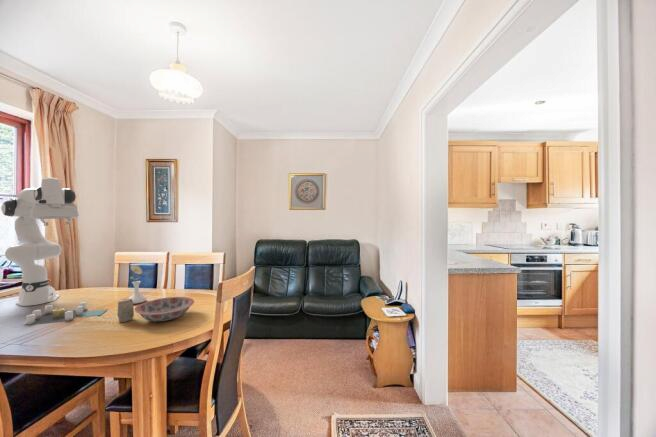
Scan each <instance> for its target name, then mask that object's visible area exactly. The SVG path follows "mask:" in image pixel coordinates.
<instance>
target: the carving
mask: <svg viewBox="0 0 656 437" xmlns="http://www.w3.org/2000/svg"><path fill="white" fill-rule="evenodd" d="M116 313H117V318H118V321H119V322H120V323H126V322H129V321H131V320H133V318H134V316H135V307H134V304H133V301H132V299H130V298H129V297H127V298H120V300H118V302H117V312H116Z"/></svg>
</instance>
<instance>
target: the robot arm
mask: <svg viewBox="0 0 656 437" xmlns="http://www.w3.org/2000/svg"><path fill="white" fill-rule="evenodd" d="M76 198H77V195H76V192H75V191H74V190H72V189H71V188H63V186H62V183H61V180H60V179H59V178H57V177H43V178H41V183H40V186H39V187H37V188H36V187H29V188H24V189H22V190H20V191H19V193H18V195H17V198H13V197H11V198H10V199H9V200H6V201H4V202H3V203H2V205H1V207H0V210H1V212H2V214H3V215H4V216H7V217H11V218H13V217H17V218H15V220H14V231H15V235H16V237H17V240H18V241H19V243H21V244H16V245H12V246H11V245H10V246H9V247H8V248H6V250H5V252H4V256H5V258H6V259H7V260H8V261H9V262H12V263H14V264H15V265H17V266H18V267H19V268H20V270H21V273H22V282H21V290H19V294H18V301H17V302H16V303H15V305H18V306H22V307H28V306H30V307H31V306H35V305H41V304H45V303H50V302H51V303H52V302H55V301H56V300H57V299H58V298H60V297H61V294H57V293H56V289H55V288H54V287H52V285H51V284H50V282H52V281H51V280H52V279H50V278H48V268H47V267H46V266H45V265H41V264H37V263H35V261H39V260H50V259H53V258H58V257H59V256H60V255H61V254H62V250H63V248H62V246H61V245H60V244H59V243H56V242H54V241H52V240H49V239H47V238H46V237H45V236H44V235H43V234H42V232H41V230H40V226H39V225H38V222H37V220H40V221H41V223H42V224H43V226H44V227H47V226H49V222H48V221H46V219H47V220H50V219H53V220H54V219H55V220H56V219H58V220H59V219H64V220H65V219H66V220H67V221H66V222H65V226H70V222H71V221H72V219H77V218H78V217H79V212H78V206H77V205H76V204H75V203H74V202H75V201H76Z"/></svg>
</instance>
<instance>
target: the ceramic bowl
mask: <svg viewBox="0 0 656 437" xmlns="http://www.w3.org/2000/svg"><path fill="white" fill-rule="evenodd" d="M194 303H195V300H194V299H193V298H190V297H186V296H167V297H162V298H161V297H160V298H157V299H153V300H148V301H144V302H141V303H139V304H138V305H137V306H135V307H134V313H137V314H140V316H141V317H142V318H144V319H145V320H147V321H151V322H165V321H166V322H167V321H172V320H174V319H176V318H177V319H178V318H180V317H181V316H183V315H184V314H185V313H186V312H187V311H189V309H190V307H192V306H193V305H194Z"/></svg>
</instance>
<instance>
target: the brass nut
mask: <svg viewBox="0 0 656 437" xmlns="http://www.w3.org/2000/svg"><path fill="white" fill-rule="evenodd" d="M64 311H65V307H60V308H55V309H54V308H53V310H52V312H53V318H60V317H63V316H64Z"/></svg>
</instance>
